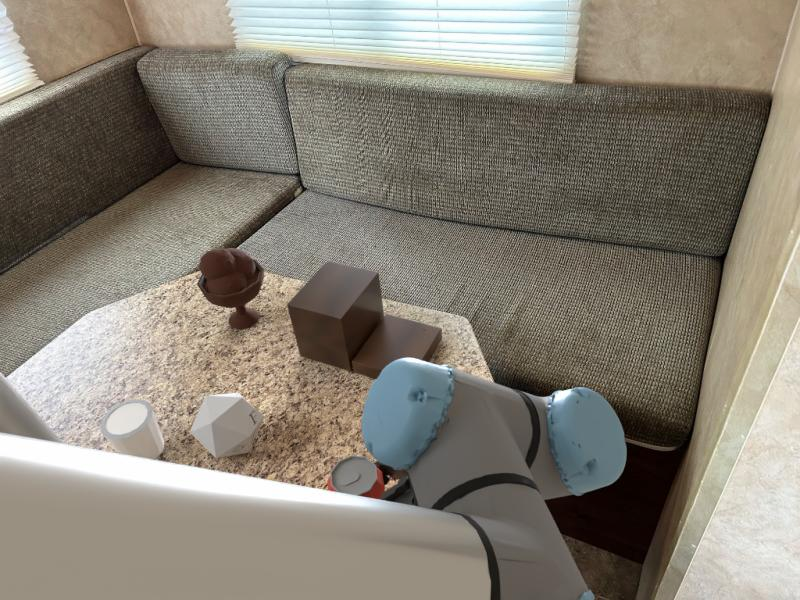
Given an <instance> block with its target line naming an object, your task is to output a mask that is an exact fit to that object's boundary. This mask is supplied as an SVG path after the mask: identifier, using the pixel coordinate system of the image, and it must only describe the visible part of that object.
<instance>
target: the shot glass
mask: <svg viewBox="0 0 800 600" xmlns="http://www.w3.org/2000/svg"><path fill="white" fill-rule="evenodd" d="M99 429H100V431H101V433H102V435H103V437H104V438H105V439H106V440H107V442H108V443H109V444H110V445H111V446H112V447H113V449H114V450H115V451H116V453H120V454H125V455H131V456H136V457H142V458H148V459H153V460H157V459H158V458H159V457H160V456H161V454H162V453H163V451H164V449H165V440H164V437H163V434H162V431H161V428H160V426H159V422H158V420H157V417H156V414H155V412H154V409H153V407H152V405H151V404H150V402H148V401H146V400H144V399H136V398H133V399H129V400H126V401H125V400H124V401H122V402H120V403H118V404H117V405H114V406H113V407H112V408H111V409H109V410H108V411H107V412H106V413H105V415H104V416H103V418H102V420H101V421H100V427H99Z"/></svg>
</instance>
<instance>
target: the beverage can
mask: <svg viewBox="0 0 800 600" xmlns="http://www.w3.org/2000/svg"><path fill="white" fill-rule="evenodd" d="M374 463H375V462H373V461H371V460H370V458H369V457H367V456H362V455H355V454H351V455H349V456H347V457H345V458H341V459H340V460H338V461H337V462H336V464H335V465H334V466H333V468H332V469H331V470H330V472H329V475H330V476H329V478H328V479H327V490H328V491H334V492H340V493H345V494H351V495H357V496H362V497H368V498H374V499H379V500H380V498H381V495H382V493H383V492H385V491H386V488H385V485H384V481H383V474H382V472H381V471H380V470H379V469H378V468H377V467H376V465H375V464H374Z"/></svg>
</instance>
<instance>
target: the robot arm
mask: <svg viewBox="0 0 800 600" xmlns="http://www.w3.org/2000/svg"><path fill="white" fill-rule="evenodd" d="M362 408H363V409H362V414H361V436H362V441H363V444H364V447H365V449H366V451H367V452H368V453H369V454H370V456H372V457H373V458H374V460H375V462H373V463H374V464H375V465H376V467H377V468H378V469H379V470H380V471H381V472H382V474H383V481H384V486H387V485H388V484H389V482H390V480H391V479H392V480H393V481H394V482H395V483H396V484H394V485H393V486H391V487H389V488H388V489H385V492H383V493H382V495H381V498H380V500H379V499H374V498H368V497H362V496H357V495H351V494H345V493H340V492H334V491H328V489H322V488H317V487H311V486H305V485H299V484H295V483H287V482H283V481H278V480H271V479H265V478H262V477H261V478H260V477H254V476H249V475H243V474H237V473H231V472H227V471H220V470H215V469H209V468H204V467H198V466H192V465H188V464H187V465H186V464H182V463H176V462H169V461H165V460H159V459H155V460H153V459H148V458H142V457H136V456H131V455H125V454H120V453H118V452H113V451H109V450H102V449H97V448H90V447H86V446H80V445H74V444H69V443H65V442H64V441H63V440H62V439H61V438H60V437H59V436H58V435H57V433H55V431H54V430H53V429H52V428H51V427H50V426H49V424H48V423H47V422H46V421H45V420H44V418H42V416H40V414H38V412H37V411H36V410H35V408H33V407H32V405H31V404H30V403H29V402H28V401H27V400H26V399H25V398H24V397H23V395H22V394H21V393H20V392H19V391H18V390H17V389H16V387H14V385H12V383H11V382H10V380H9V379H7V378H6V377H5V375H4V374H3V373H2V372H1V371H0V600H595V595H594V593H593V592H592V590H591V589H589V587H588V586H587V583H586V581H585V580H584V577H583V576H582V574H581V572H580V570H579V568H578V565H577V564H576V561H575V560H574V557H573V556H572V553H571V551H570V549H569V547H568V546H567V544H566V541H565V539H564V537H563V535H562V533H561V532H560V530H559V527H558V525H557V523H556V521H555V520H554V517H553V515H552V513H551V512H550V509H549V507H548V506H547V503H546V502H545V501H546V500H551V499H557V498H562V497H568V496H573V495H574V496H577V497H579V496H582V495H584V494H585V493H588V492H592V491H596V490H598V489H601V488H604V487H608V486H610V485H612V484H613V483H615V482H616V481H617V480H618V479H620V477H621V476H622V474H623V472H624V469H625V466H626V462H627V452H628V451H627V449H628V448H627V443H626V441H625V431H624V428H623V425H622V423H621V421H620V418H619V417H618V414H617V413H616V411H615V410H614V408H613V406H612V405H611V404H610V403H609V401H608V400H607V399H606V398H604V396H602V395H601V394H600V393H598V392H597V391H595V390H593V389H590V388H588V387H584V386H583V387H581V386H580V387H574V388H570V389H566V390H560V389H559V390H556V391H553V392H552V394H551V395H547V396H537V395H534V394H530V393H529V392H525V391H522V390H519V389H516V388H515V389H514V388H511V387H508V386H505V385H503V384H499V383H496V382H494V381H490V380H488V379H485V378H482V377H479V376H476V375H473V374H471V373H468V372H465V371H463V370H459V369H457V368H454V367H453V366H451V365H449V364H438V363H434V362H430V361H429V362H426V361H422V360H419V359H415V358H401V359H398V360H395V361H393V362H392V363H390V364H389V365H387V366H386V367H385V368H384V369H383V370H382V372H381V373H380V375H379V377H378V378H377V379H374V380H373V382H372V384H371V385H370V388H369V389H368V392H367V395H366V397H365V401H364V404H363V407H362Z"/></svg>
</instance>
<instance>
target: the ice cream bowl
mask: <svg viewBox="0 0 800 600" xmlns="http://www.w3.org/2000/svg"><path fill="white" fill-rule="evenodd" d="M198 265H199V266H198V268H199V272H200V273H201V274H200V277H199V278H198V280H197V282H196V286H197V287H198V288H199V290H200V292H201V294H203V296H204V297H205V299H206V301H208V302H209V303H210V304H211V305H213V306H217V307H221V308H222V307H223V308H226V309H234V308H235V311H233V312H232V313H230V315H229V318H228V325H229V326H230V328H231V329H234V330H239V331H241V330H246V329H249V328H252V327H253V326H255V325H256V324H257V323H258V322H259V320H260V317H261V314H260V313H259V312H258V311H257V310H256V308H253V307H248V306H246V305H247V304H248V303H250V302H251V301H253V300H254V299H255V298H257V296H259V294H260V291H261V288H262V285H263V283H264V278H265V268H264V267H263V266H262V264H260V262H258V260H256V259H253V258H252V257H251V256H250V255H249V254H247V253H246V252H245V251H244V250H243V249H239V248H234V247H228V248H213V249H210V250H207V251H206V252H205V253H204V254H203V255H202V256H201V257H200V260H199V264H198Z"/></svg>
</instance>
